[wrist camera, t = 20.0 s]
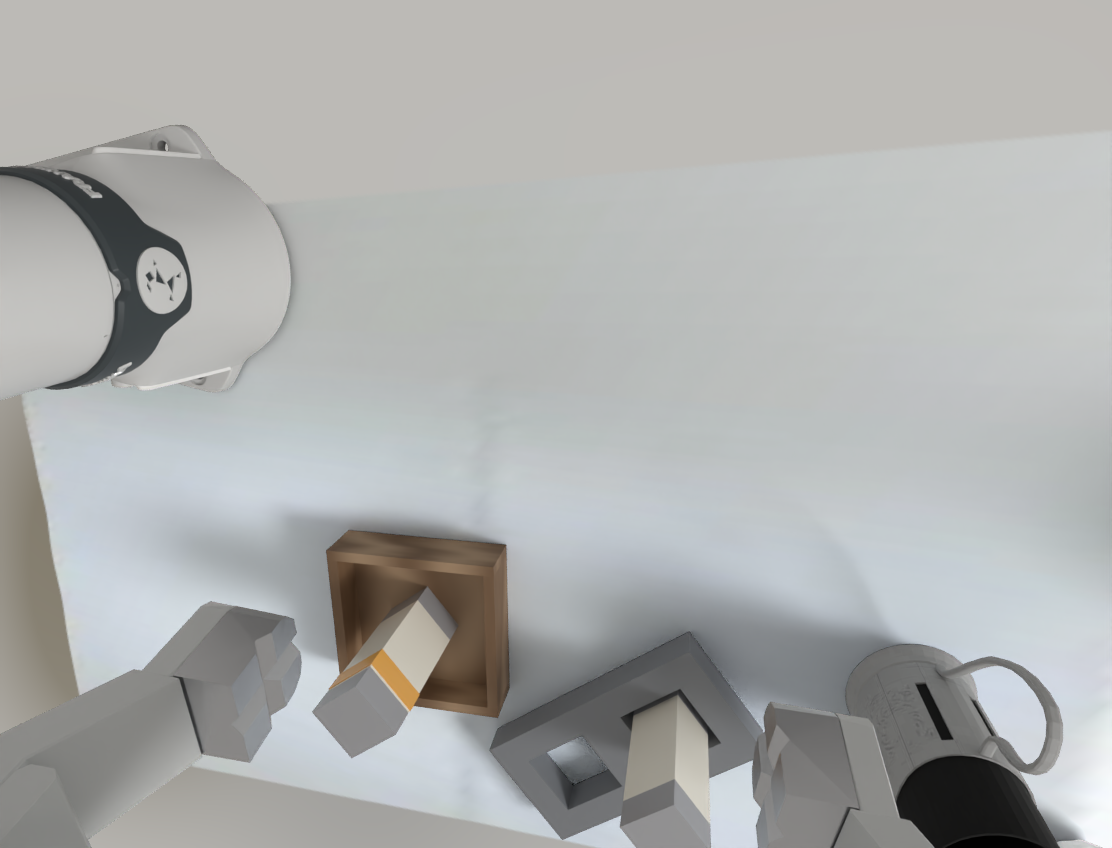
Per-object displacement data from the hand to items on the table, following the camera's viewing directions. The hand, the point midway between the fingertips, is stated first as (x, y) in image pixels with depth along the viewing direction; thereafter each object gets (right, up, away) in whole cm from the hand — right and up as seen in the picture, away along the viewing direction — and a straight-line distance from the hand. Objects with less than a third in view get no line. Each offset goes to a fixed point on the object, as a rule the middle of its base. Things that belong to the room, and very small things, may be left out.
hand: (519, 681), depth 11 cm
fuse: (+10, -18, +42) cm, 46 cm away
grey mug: (+27, -13, +37) cm, 47 cm away
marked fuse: (-10, -11, +42) cm, 45 cm away
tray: (-10, -11, +43) cm, 46 cm away
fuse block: (+6, -20, +43) cm, 48 cm away
